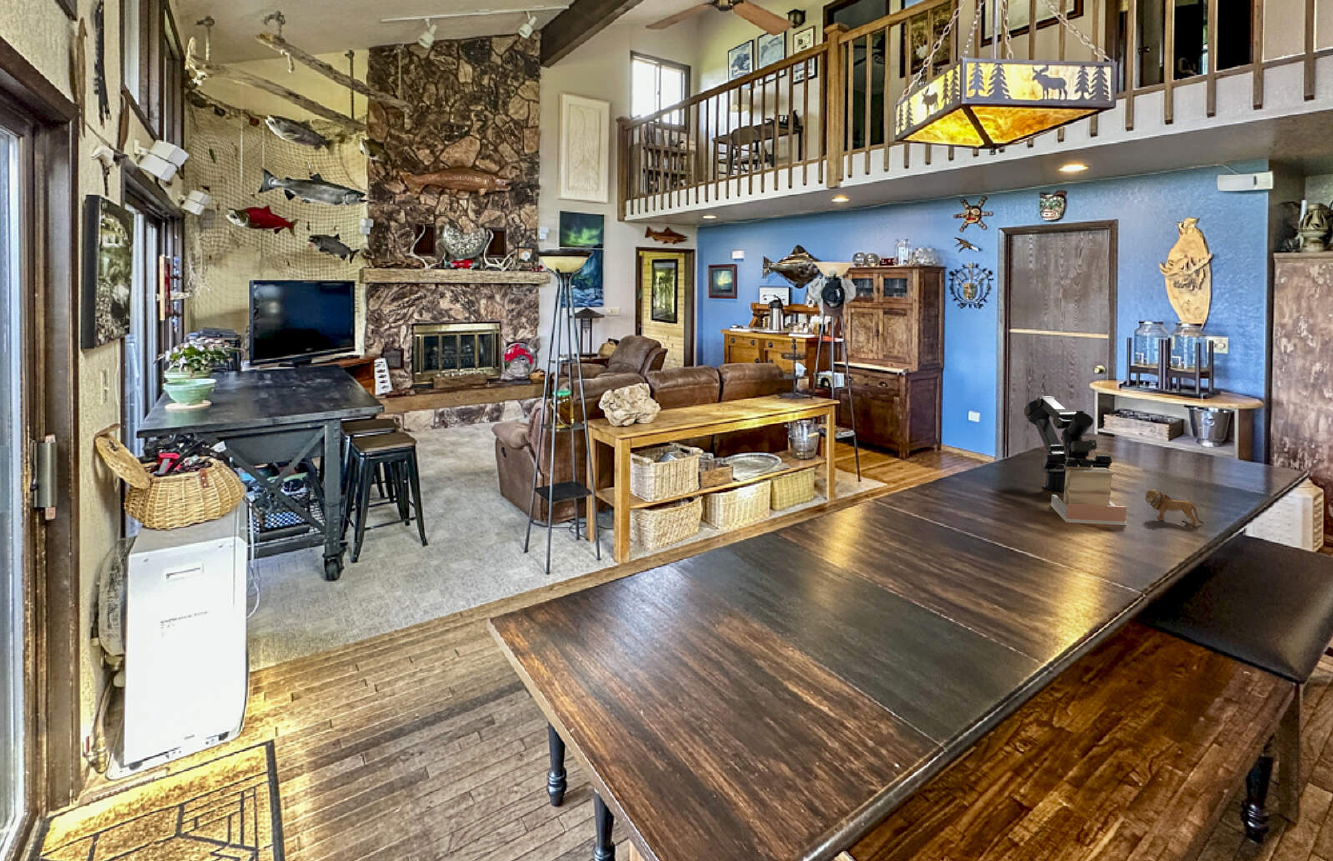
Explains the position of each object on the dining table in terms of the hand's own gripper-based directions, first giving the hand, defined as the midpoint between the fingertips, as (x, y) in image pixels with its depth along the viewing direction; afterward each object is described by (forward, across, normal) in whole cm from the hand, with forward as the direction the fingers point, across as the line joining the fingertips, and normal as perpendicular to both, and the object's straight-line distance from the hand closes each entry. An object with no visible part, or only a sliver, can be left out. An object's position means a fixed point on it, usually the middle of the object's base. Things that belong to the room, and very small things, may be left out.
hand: (1081, 484), depth 222 cm
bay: (+11, 0, 0) cm, 11 cm away
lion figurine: (+13, +22, -1) cm, 25 cm away
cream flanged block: (+9, 0, 0) cm, 9 cm away
